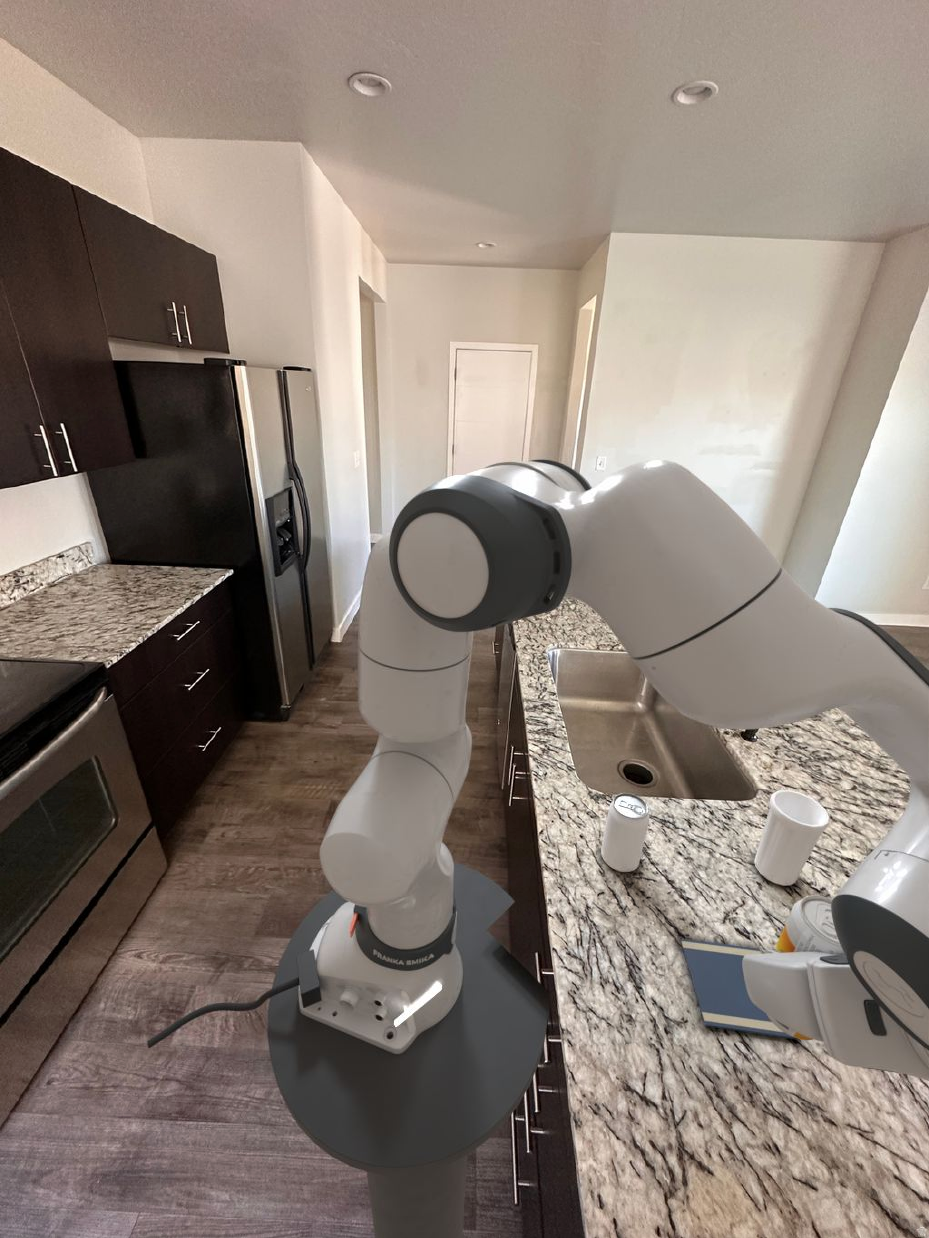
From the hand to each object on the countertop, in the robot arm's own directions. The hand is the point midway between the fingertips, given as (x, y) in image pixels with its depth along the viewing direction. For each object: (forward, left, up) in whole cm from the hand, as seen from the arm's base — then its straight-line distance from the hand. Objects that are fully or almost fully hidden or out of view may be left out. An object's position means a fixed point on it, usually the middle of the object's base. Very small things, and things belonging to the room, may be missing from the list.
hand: (806, 956), depth 50 cm
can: (-11, +28, -20) cm, 36 cm away
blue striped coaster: (+1, +9, -20) cm, 22 cm away
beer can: (0, -1, -9) cm, 9 cm away
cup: (+15, +29, -20) cm, 38 cm away
